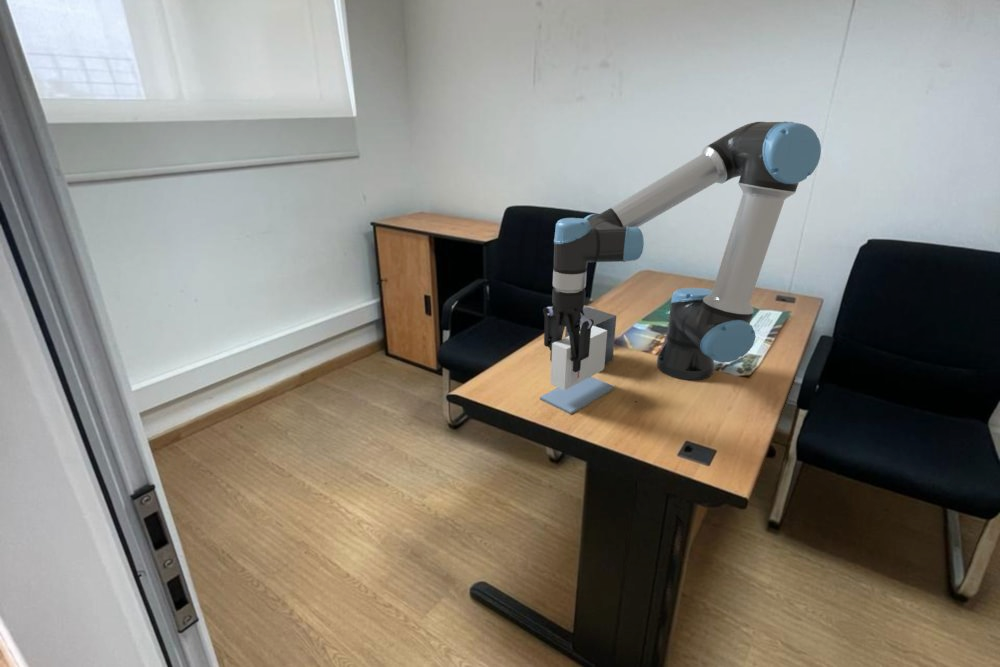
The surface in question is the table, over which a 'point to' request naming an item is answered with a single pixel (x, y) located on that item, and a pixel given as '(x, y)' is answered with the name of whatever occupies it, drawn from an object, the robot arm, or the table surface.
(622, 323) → the table surface
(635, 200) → the robot arm
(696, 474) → the table surface
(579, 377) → the white block
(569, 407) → the mat
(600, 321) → the dispenser
